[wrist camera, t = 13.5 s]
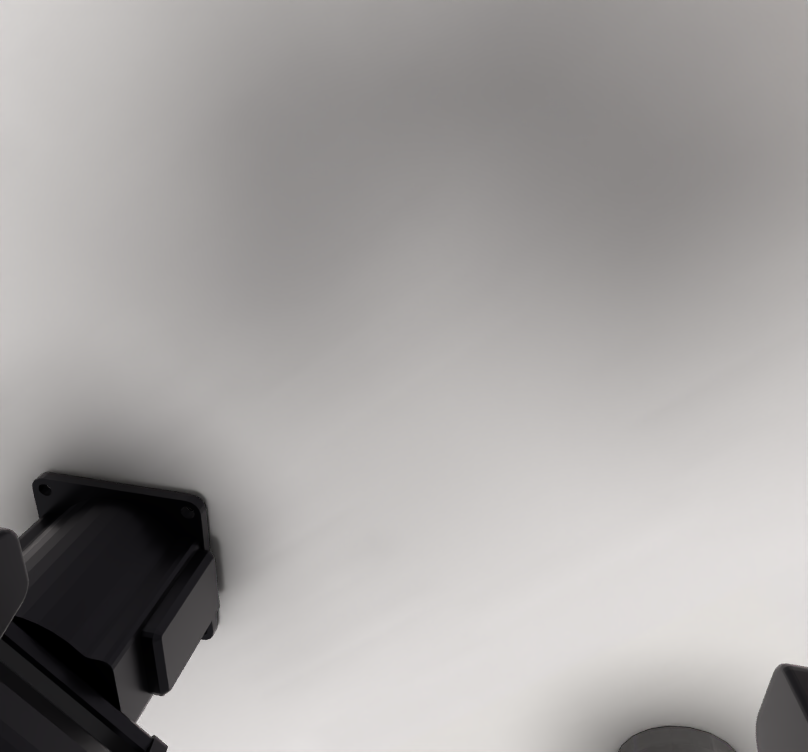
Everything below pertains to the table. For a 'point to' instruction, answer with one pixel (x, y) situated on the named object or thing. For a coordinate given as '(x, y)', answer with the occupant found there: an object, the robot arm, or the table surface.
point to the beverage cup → (675, 741)
